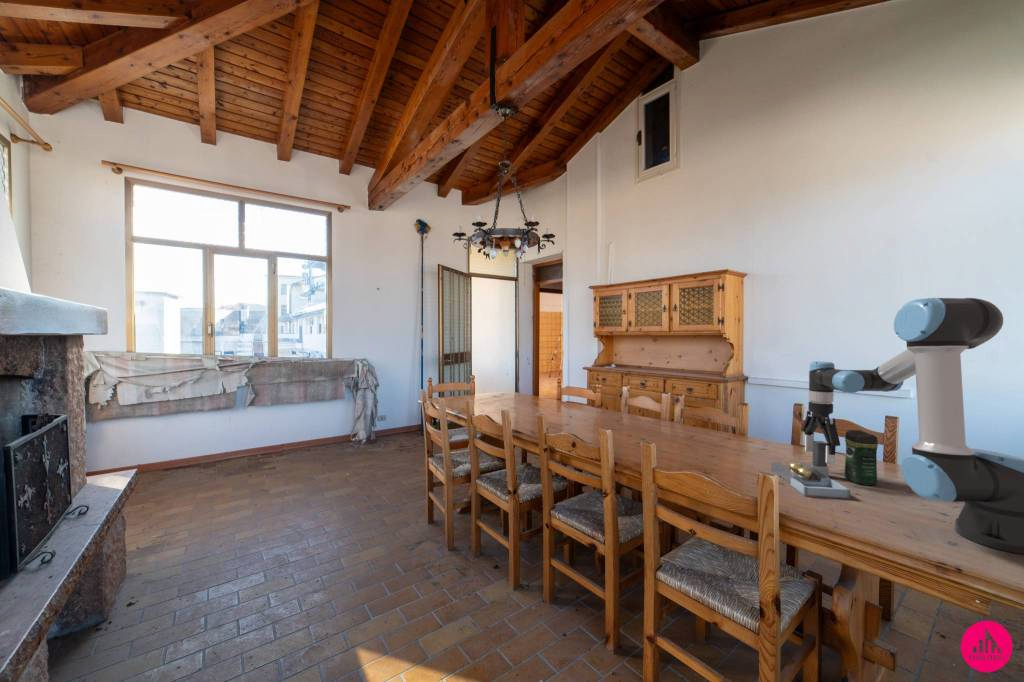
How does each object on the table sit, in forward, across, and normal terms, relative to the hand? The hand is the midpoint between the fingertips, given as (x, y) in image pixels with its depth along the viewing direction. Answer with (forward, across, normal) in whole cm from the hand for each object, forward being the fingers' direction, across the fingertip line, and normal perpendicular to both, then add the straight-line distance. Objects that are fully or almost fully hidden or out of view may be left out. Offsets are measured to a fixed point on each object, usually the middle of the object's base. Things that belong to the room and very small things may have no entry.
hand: (819, 456), depth 155 cm
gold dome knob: (+5, -9, +9) cm, 14 cm away
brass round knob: (+5, -3, +10) cm, 11 cm away
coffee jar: (+7, -4, -12) cm, 14 cm away
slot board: (+7, -5, +10) cm, 13 cm away
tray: (+7, -18, +10) cm, 21 cm away
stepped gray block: (+7, 0, 0) cm, 7 cm away
